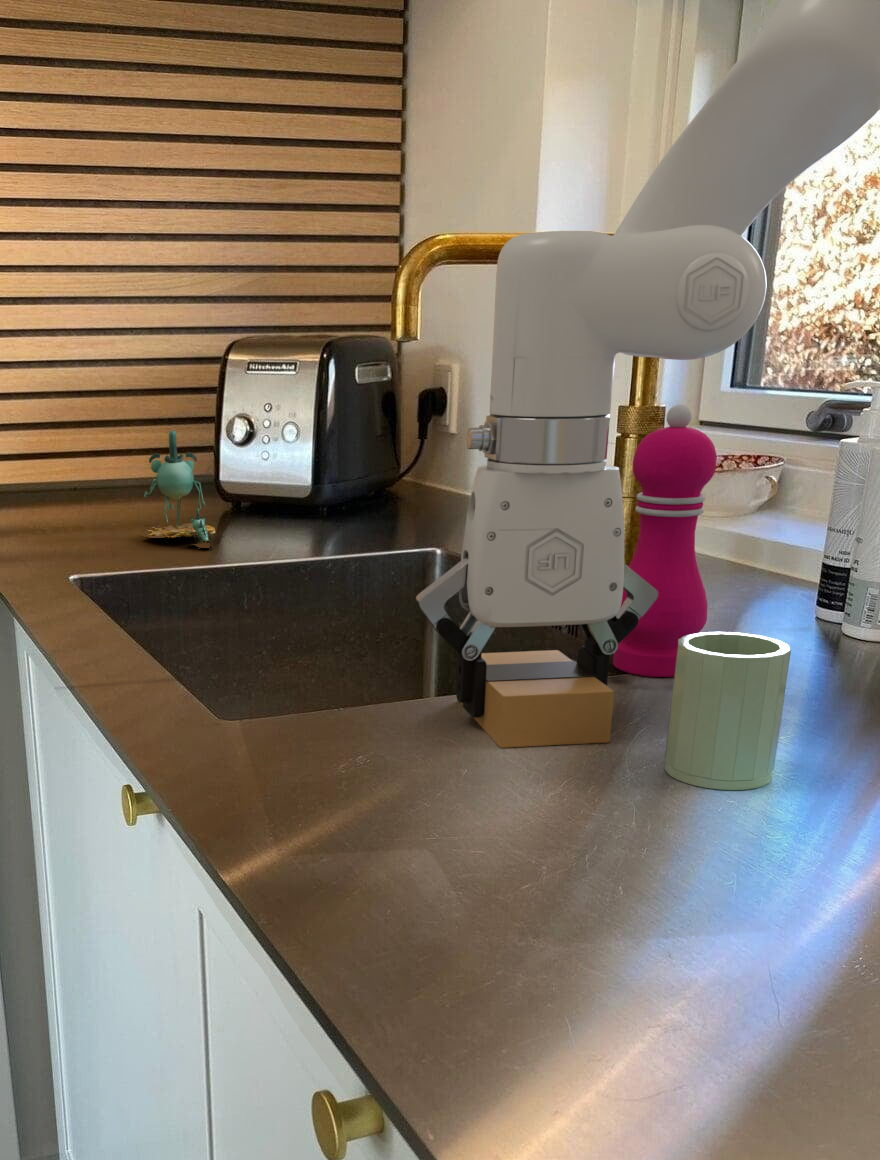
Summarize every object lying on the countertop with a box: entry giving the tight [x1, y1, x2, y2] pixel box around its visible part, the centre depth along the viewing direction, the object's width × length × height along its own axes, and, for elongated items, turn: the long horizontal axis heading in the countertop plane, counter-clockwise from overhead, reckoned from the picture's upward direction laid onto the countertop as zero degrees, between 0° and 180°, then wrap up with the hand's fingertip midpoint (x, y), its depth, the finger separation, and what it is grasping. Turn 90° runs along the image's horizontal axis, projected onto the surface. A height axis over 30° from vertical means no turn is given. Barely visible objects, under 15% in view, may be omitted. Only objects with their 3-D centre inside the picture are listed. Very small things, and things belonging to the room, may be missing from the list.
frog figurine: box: [143, 429, 216, 550], centre depth 156 cm, size 10×18×15 cm, turn 13°
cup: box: [664, 631, 792, 791], centre depth 73 cm, size 6×6×8 cm
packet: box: [458, 649, 615, 749], centre depth 84 cm, size 11×7×4 cm
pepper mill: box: [612, 404, 717, 678], centre depth 93 cm, size 7×7×20 cm
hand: (530, 707), depth 84 cm, fingers closed on packet, 7 cm apart
